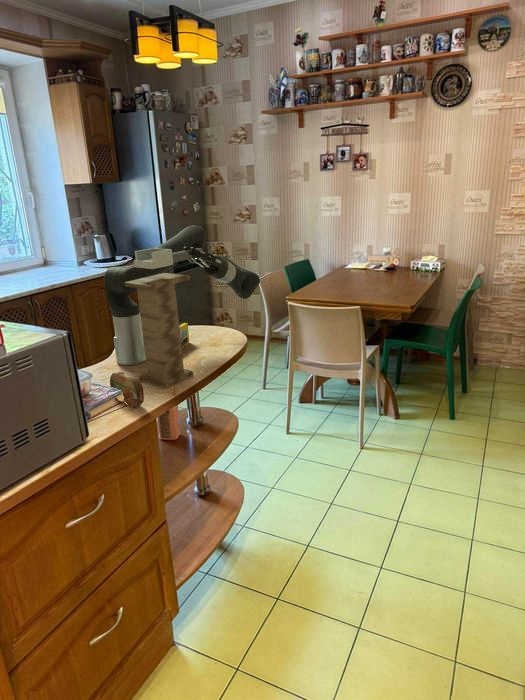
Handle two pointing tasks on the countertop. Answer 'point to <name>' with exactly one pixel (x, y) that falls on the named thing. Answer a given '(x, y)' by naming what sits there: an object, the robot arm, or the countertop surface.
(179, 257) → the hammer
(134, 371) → the countertop surface
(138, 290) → the stand
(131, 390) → the tin
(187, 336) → the candy box
